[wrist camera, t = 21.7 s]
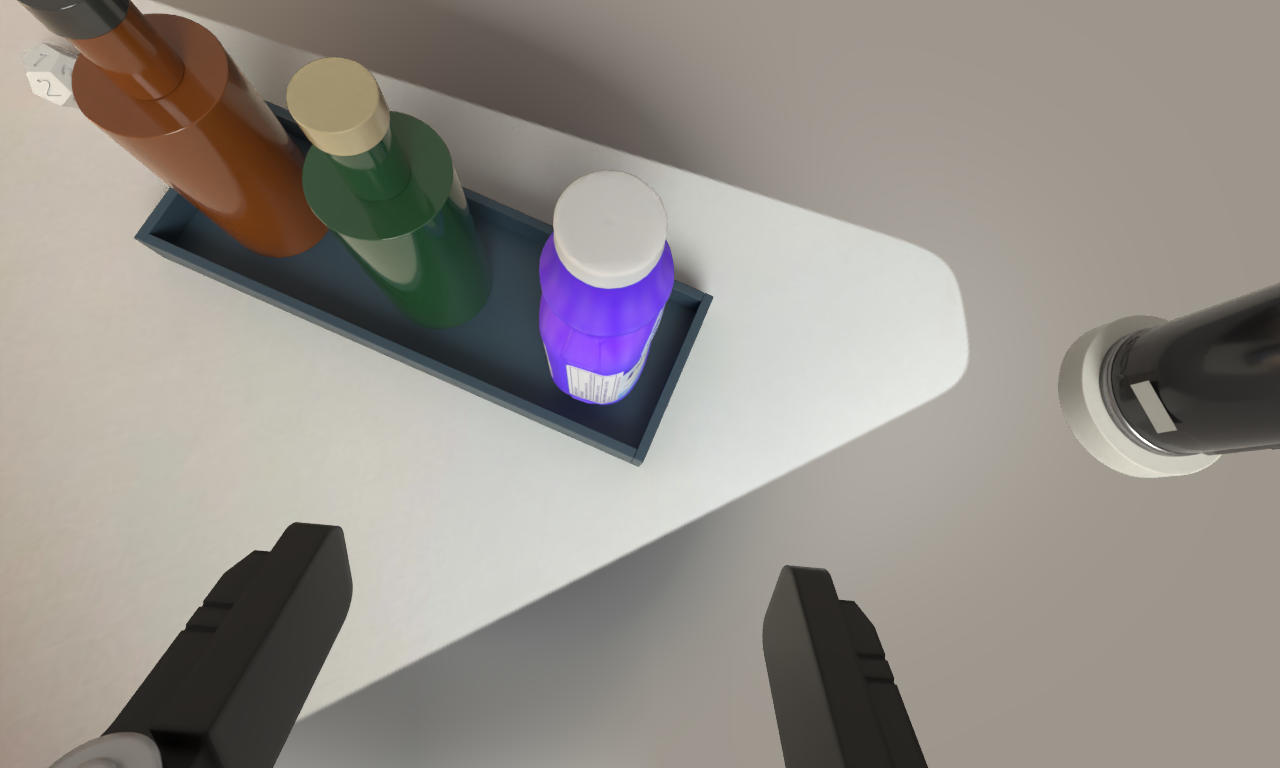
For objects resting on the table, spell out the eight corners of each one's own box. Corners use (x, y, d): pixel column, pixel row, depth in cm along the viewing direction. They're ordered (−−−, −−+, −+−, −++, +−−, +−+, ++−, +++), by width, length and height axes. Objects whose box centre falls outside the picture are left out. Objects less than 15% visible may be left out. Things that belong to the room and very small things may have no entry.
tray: (705, 310, 40) (713, 296, 37) (639, 467, 37) (642, 462, 35) (262, 116, 40) (240, 89, 38) (163, 257, 38) (133, 237, 35)
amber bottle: (354, 190, 39) (186, -56, 23) (301, 274, 37) (79, 75, 21) (263, 151, 39) (30, -123, 23) (207, 232, 38) (-88, 2, 21)
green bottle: (509, 259, 39) (455, 61, 22) (463, 345, 37) (368, 202, 21) (418, 219, 39) (298, -7, 23) (369, 304, 37) (199, 128, 21)
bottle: (624, 423, 37) (659, 337, 20) (536, 393, 37) (497, 282, 20) (660, 317, 39) (718, 157, 22) (576, 288, 39) (570, 106, 22)
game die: (36, 99, 39) (-7, 65, 36) (79, 59, 40) (39, 23, 37) (81, 127, 39) (40, 95, 36) (122, 86, 40) (86, 52, 37)
